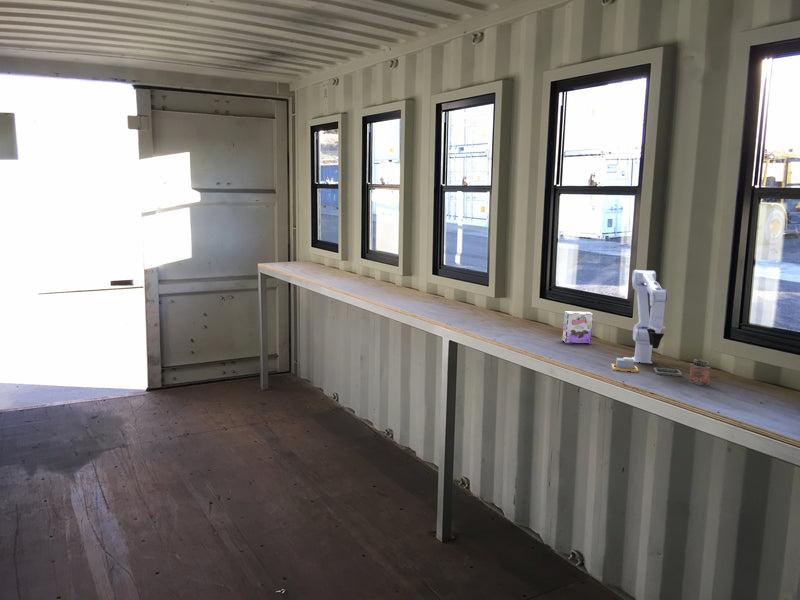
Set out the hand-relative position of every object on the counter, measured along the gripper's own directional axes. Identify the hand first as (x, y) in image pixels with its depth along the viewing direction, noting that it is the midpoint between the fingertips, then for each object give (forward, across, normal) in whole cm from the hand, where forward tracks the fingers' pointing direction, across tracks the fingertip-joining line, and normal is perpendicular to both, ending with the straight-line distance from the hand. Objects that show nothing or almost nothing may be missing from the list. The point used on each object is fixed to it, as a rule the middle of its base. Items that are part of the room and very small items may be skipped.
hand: (653, 346), depth 286 cm
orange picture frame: (+10, -4, +12) cm, 17 cm away
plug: (+11, -4, +12) cm, 17 cm away
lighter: (+11, -17, -16) cm, 26 cm away
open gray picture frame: (+10, -4, -6) cm, 13 cm away
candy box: (+10, +46, +31) cm, 56 cm away
